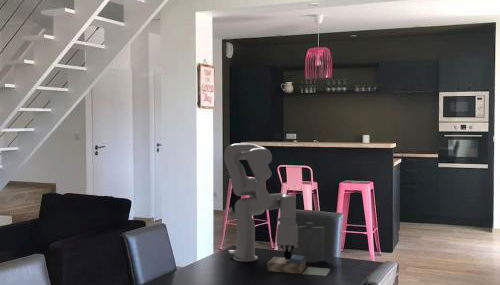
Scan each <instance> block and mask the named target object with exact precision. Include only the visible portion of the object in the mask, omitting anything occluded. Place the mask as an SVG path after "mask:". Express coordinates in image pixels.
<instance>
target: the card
mask: <svg viewBox="0 0 500 285" xmlns="http://www.w3.org/2000/svg"><path fill="white" fill-rule="evenodd" d="M304 261H305V256H300V255H293V254H291V257H290V258H289V263H292V264H302V263H303V262H304Z"/></svg>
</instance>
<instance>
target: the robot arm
mask: <svg viewBox="0 0 500 285" xmlns="http://www.w3.org/2000/svg"><path fill="white" fill-rule="evenodd" d="M272 155H273V154H272V153H271V151H270V150H269V149H268V148H266V147H263V146H260V145H257V144H255V143H233V144H229V145H228V146H227V147H226V148H225V150H224V153H223V158H224V163H225V165H226V169H227V171H228V175H229V179H230V183H231V186H232V192H233V193H234V194H235V195H236V196H237V197H242V196H243V198H239V199H238V200H237V201H236V202H235V204H234V212H235V219H236V242H235V244H236V248H235V249H234V250H233V249H228V254H229V255H233V257H232V258H233V260H234V261H237V262H243V263H244V262H246V263H247V262H248V263H249V262H254V261H255V262H256V261H257V260H259V257H258V256H257V255H255V254H256V253H255V252H256V248H255V247H256V244H255V243H256V224H255V221H254V218H253V216H259V215H262V214H263V213H265V211H271V210H278V209H279V217H277V218H276V221H277V222H278V224H277V229H276V247H278V248H281V249H282V250H283V252H284V253H283V254H284V256H283V258H285V260H289V258H290V257H291V256H292V250H293V248H298V247H299V244H298V242H299V235H298V227H299V226H298V223H297V219H296V218H297V217H296V216H297V214H296V213H297V198H296V195H293V194H285V193H282V192H278V193H269V191H268V189H267V187H266V182H267V180H269V179H270V178H271V177H272V176H273V175H272V174H273V173H272V171H271V169H270V166H269V164H271V162H272V160H273V156H272ZM243 160H246V161H247V163H248V166H249V167H250V170H251V172H252V174H253V175H254V177H253V176H250V177H249V176H247V174H246V169H245V167H244V166H243V164H242V162H240V161H243ZM244 196H245V197H244ZM246 196H248V197H246Z"/></svg>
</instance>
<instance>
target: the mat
mask: <svg viewBox="0 0 500 285" xmlns="http://www.w3.org/2000/svg"><path fill="white" fill-rule="evenodd" d="M330 271H331V268H325V267H314V266H313V267H312V266H307V267H306V268H305V269H304V270H303V271H302V273H301V275H308V276H318V277H327V276H328V274H329V273H330Z"/></svg>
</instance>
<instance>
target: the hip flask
mask: <svg viewBox="0 0 500 285" xmlns="http://www.w3.org/2000/svg"><path fill="white" fill-rule="evenodd" d="M313 225H314V222H311V221H310V222H305V225H299V226H297V227H298V235H299V242H298V244H299V247H298V248H293V249H292V250H293V251H292V252H293V254H292V255H300V256H305V259H306V263H320V262H319V261H324V262H325V243H326V242H325V234H326V233H325V230H326V228H325V226H313Z"/></svg>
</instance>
